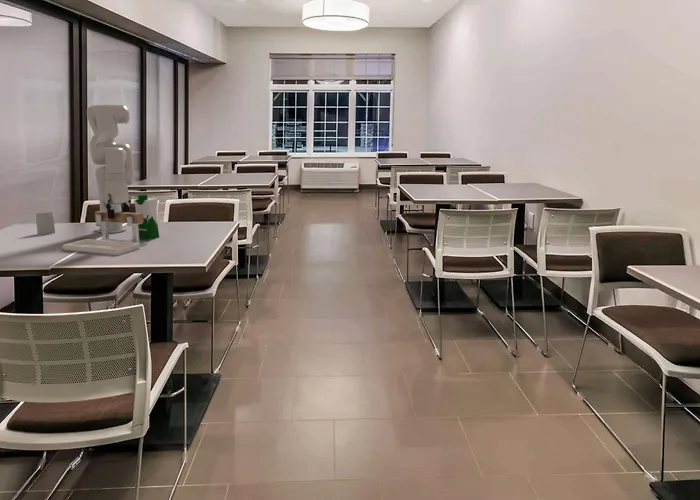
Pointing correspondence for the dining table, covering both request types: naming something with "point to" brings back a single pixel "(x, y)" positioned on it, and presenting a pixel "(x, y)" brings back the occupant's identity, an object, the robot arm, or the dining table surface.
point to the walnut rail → (121, 217)
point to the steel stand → (106, 238)
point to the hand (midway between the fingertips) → (119, 217)
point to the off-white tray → (101, 246)
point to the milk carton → (147, 217)
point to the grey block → (45, 223)
